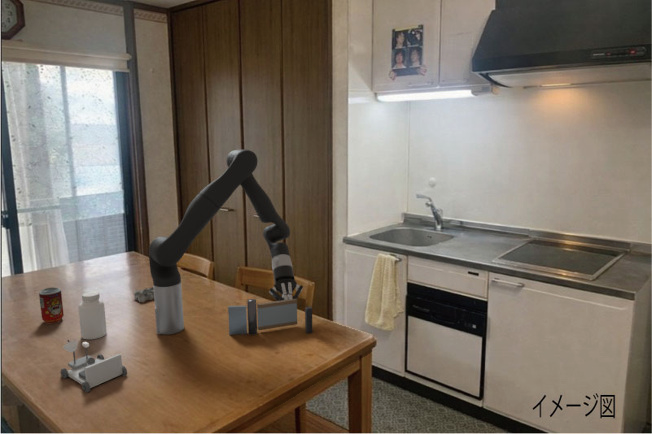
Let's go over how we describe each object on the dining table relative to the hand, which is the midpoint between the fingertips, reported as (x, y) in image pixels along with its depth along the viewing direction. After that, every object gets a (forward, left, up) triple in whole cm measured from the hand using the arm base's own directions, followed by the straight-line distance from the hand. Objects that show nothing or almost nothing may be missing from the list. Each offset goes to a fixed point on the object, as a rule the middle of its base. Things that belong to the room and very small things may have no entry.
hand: (289, 311), depth 170 cm
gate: (-5, -1, -4) cm, 7 cm away
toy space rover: (-63, -14, -6) cm, 65 cm away
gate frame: (-8, -4, -5) cm, 10 cm away
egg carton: (-49, +49, -6) cm, 70 cm away
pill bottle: (-66, +15, -6) cm, 68 cm away
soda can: (-82, +34, -6) cm, 89 cm away
